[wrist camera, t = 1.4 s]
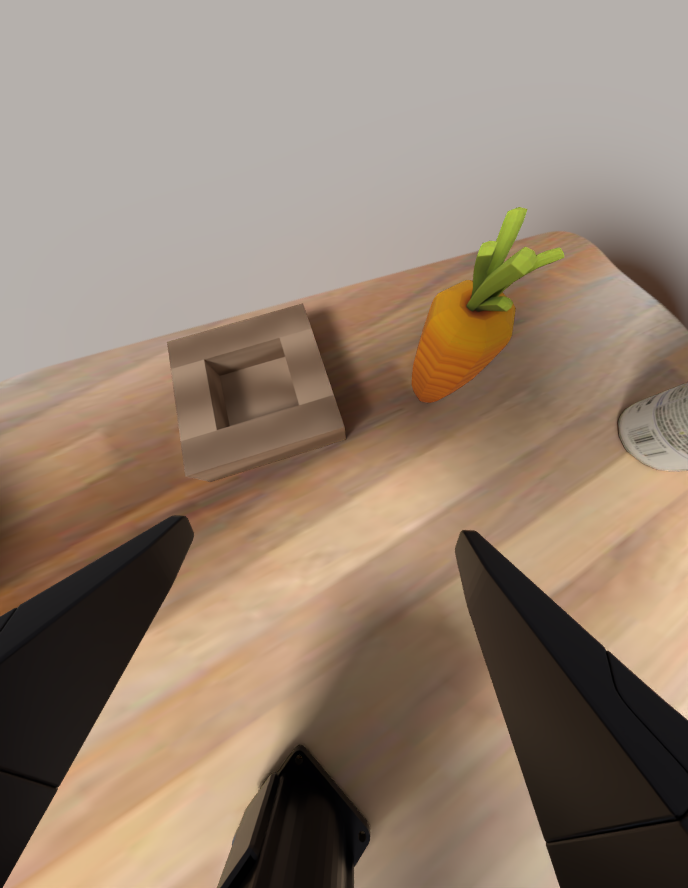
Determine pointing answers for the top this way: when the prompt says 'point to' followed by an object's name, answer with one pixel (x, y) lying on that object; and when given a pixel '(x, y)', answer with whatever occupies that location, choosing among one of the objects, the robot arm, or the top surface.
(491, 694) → the top surface
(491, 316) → the carrot
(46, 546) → the top surface
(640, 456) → the spray can
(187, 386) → the walnut socket block
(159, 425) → the top surface
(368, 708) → the top surface
